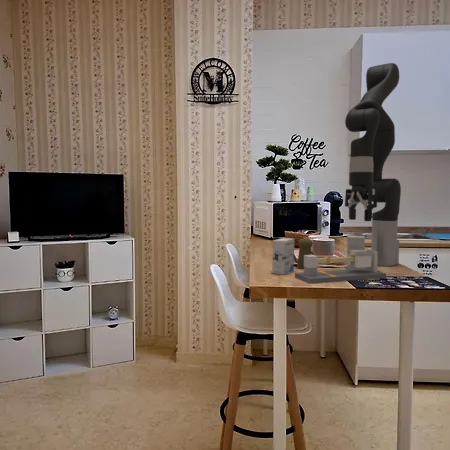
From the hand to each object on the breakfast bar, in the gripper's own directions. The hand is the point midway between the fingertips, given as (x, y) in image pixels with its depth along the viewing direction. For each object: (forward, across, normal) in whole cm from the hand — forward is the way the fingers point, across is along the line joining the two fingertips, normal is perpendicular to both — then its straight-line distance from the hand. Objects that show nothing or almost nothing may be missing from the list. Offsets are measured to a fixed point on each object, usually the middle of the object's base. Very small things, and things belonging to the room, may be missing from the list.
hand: (359, 220), depth 137 cm
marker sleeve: (+15, 0, 0) cm, 15 cm away
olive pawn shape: (+19, +19, +10) cm, 29 cm away
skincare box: (+19, +12, -7) cm, 24 cm away
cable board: (+19, 0, +7) cm, 20 cm away
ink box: (+19, +14, +21) cm, 32 cm away
